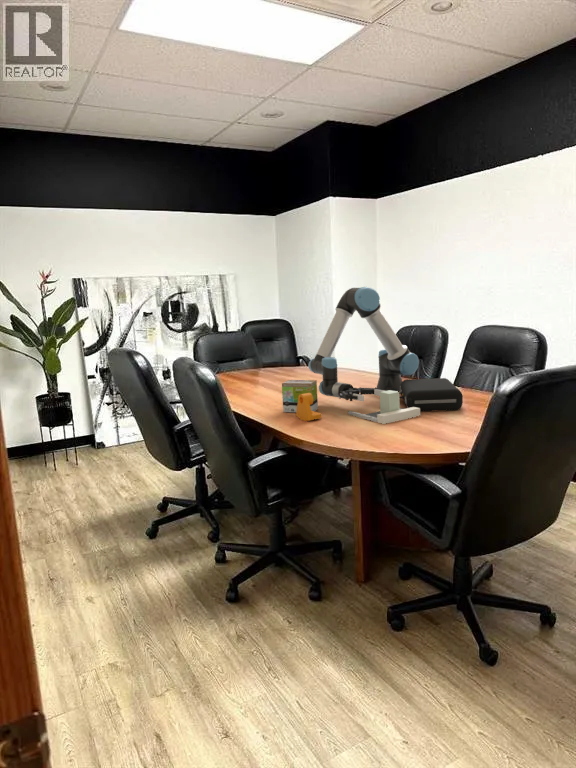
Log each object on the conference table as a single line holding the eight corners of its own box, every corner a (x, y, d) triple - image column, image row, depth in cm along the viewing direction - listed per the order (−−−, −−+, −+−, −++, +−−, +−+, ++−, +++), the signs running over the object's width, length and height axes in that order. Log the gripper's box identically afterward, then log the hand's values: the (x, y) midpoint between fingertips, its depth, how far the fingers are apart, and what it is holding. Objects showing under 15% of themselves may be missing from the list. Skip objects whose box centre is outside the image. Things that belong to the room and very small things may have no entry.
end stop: (413, 414, 244) (413, 406, 243) (420, 415, 240) (420, 408, 240) (377, 422, 233) (377, 414, 233) (383, 424, 230) (383, 416, 229)
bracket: (322, 419, 245) (321, 393, 243) (308, 422, 241) (307, 395, 239) (310, 415, 254) (308, 390, 252) (296, 418, 251) (295, 392, 249)
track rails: (383, 407, 262) (383, 404, 261) (413, 414, 244) (413, 411, 243) (348, 414, 251) (347, 411, 251) (377, 422, 233) (377, 419, 233)
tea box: (282, 412, 263) (280, 382, 261) (289, 408, 273) (288, 379, 270) (312, 413, 258) (310, 382, 256) (318, 408, 267) (317, 379, 265)
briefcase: (387, 398, 284) (387, 379, 282) (449, 395, 280) (449, 376, 279) (393, 414, 248) (392, 392, 247) (464, 411, 245) (464, 389, 243)
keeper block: (390, 413, 246) (389, 390, 244) (399, 416, 241) (399, 391, 239) (380, 416, 243) (379, 392, 241) (389, 418, 238) (389, 393, 236)
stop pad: (387, 410, 255) (387, 409, 255) (409, 415, 242) (409, 414, 242) (360, 415, 247) (360, 415, 247) (382, 421, 235) (381, 420, 235)
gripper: (362, 394, 273) (393, 399, 256) (324, 402, 259) (354, 408, 242) (361, 379, 272) (393, 383, 255) (323, 387, 258) (353, 392, 241)
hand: (374, 396), depth 248 cm, fingers open, 13 cm apart
